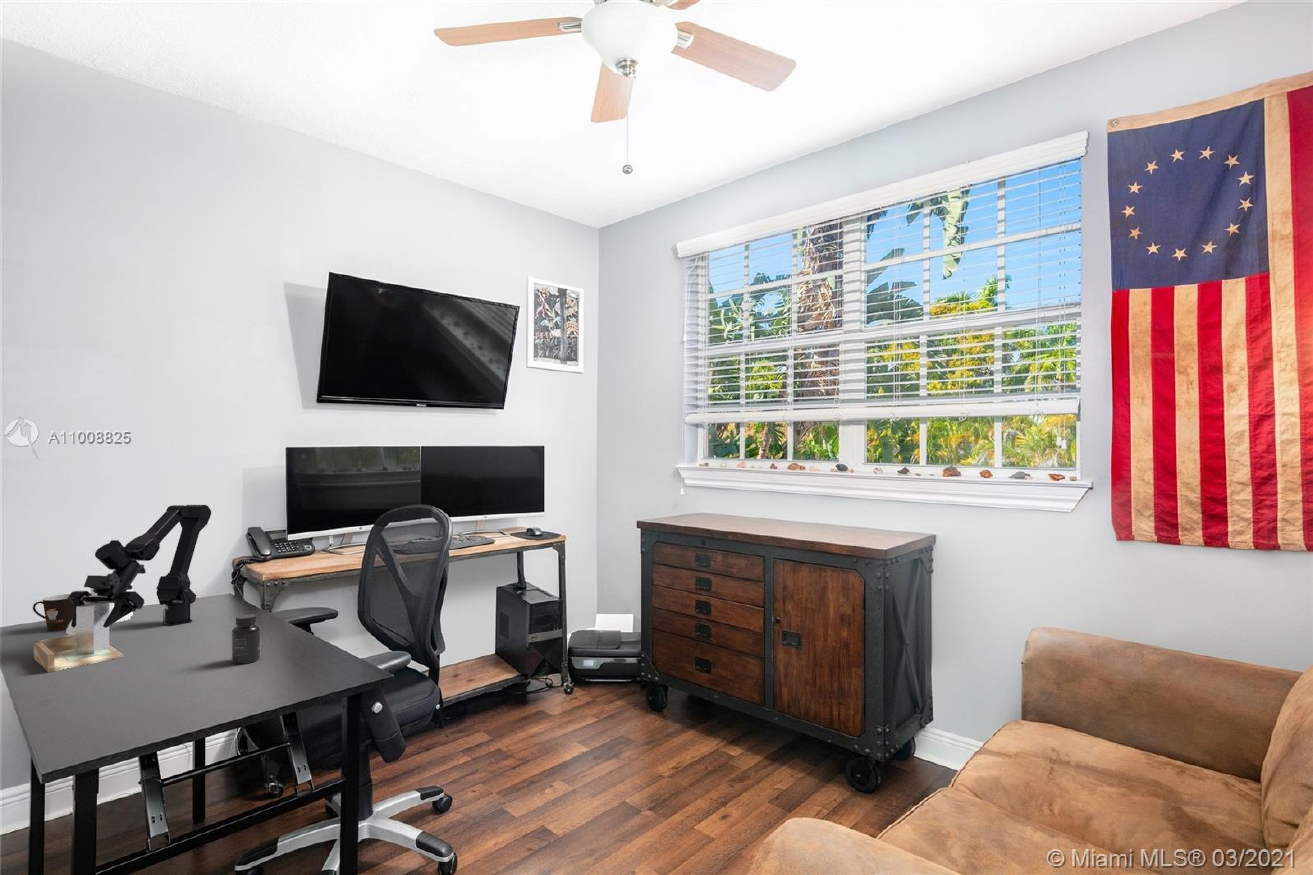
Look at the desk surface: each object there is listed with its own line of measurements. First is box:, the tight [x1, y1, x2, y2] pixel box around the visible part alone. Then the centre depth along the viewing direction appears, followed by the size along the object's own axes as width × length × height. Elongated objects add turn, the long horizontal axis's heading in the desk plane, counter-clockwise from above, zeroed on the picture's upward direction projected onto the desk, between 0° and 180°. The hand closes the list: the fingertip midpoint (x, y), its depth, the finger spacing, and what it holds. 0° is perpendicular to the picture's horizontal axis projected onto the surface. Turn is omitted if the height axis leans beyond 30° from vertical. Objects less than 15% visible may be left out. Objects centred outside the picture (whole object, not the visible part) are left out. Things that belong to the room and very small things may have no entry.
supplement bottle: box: [230, 613, 262, 665], centre depth 182 cm, size 7×7×12 cm
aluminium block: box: [76, 602, 110, 654], centre depth 188 cm, size 5×5×13 cm
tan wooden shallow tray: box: [33, 634, 125, 674], centre depth 184 cm, size 16×19×4 cm
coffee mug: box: [32, 593, 74, 633], centre depth 213 cm, size 12×9×10 cm
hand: (88, 626), depth 186 cm, fingers open, 9 cm apart
